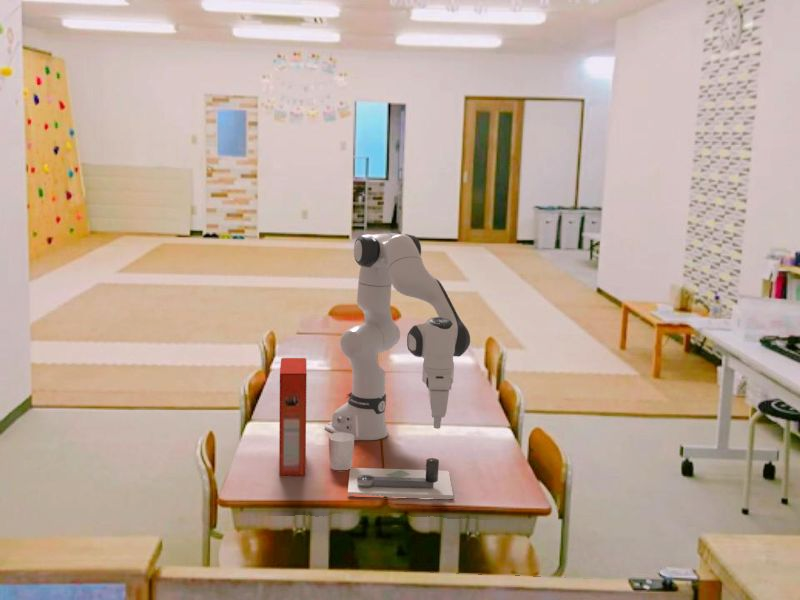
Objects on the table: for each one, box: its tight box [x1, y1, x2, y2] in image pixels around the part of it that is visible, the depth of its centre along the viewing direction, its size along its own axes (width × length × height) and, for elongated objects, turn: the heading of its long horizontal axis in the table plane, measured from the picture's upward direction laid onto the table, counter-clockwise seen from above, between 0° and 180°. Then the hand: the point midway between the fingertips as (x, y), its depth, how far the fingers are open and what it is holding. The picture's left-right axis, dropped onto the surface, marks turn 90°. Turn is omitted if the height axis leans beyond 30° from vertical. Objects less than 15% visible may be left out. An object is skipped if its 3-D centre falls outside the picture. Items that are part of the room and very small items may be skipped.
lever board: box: [347, 467, 454, 500], centre depth 256 cm, size 30×18×2 cm, turn 91°
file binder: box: [278, 357, 308, 477], centre depth 265 cm, size 8×17×32 cm, turn 6°
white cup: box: [328, 432, 355, 471], centre depth 267 cm, size 8×8×10 cm
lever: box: [357, 457, 440, 488], centre depth 251 cm, size 23×5×8 cm, turn 91°
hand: (435, 422), depth 248 cm, fingers open, 8 cm apart
